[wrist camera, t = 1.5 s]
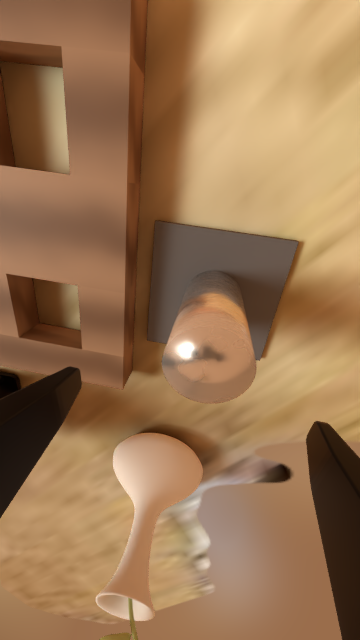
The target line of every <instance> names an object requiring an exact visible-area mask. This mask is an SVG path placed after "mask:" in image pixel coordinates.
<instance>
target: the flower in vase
mask: <svg viewBox="0 0 360 640" xmlns="http://www.w3.org/2000/svg"><path fill="white" fill-rule="evenodd" d="M113 468H114V471H115V473H116V476H117V478H118V480H119V482H120V483H121V485H122V486H123V488H124V489H125V491H126V492H127V493H128V495H129V496H130V498H131V499H132V501H133V503H134V508H135V514H134V521H133V525H132V530H131V533H130V536H129V540H128V543H127V546H126V549H125V551H124V554H123V557H122V559H121V561H120V564H119V566H118V568H117V570H116V572H115V573H114V575H113V577H112V578H111V580H110V581H109V583H108V584H107V585H106V587H105V588H104V589H103V590H102V591H101V592H100V593H99V594H98V595H97V597H96V603H97V604H98V606H99V607H100V608H102V609H103V610H105V611H106V612H108V613H110V614H112V615H115V616H117V617H120V618H124V619H128V620H130V626H131V632H132V634H129V633H119V634H111V635H107V636H104V637H102V638H101V639H99V640H130V637H131V635H132V636H133V640H138V637H137V632H136V628H135V622H134V621H147V620H150V619H152V618H153V617H154V615H155V612H154V608H153V604H152V601H151V596H150V591H149V579H148V576H149V558H150V549H151V543H152V536H153V532H154V528H155V524H156V521H157V518H158V516H159V515H160V513H161V512H162V511H163V510H164V509H166V508H167V507H169V506H171V505H174V504H176V503H178V502H179V501H181V500H183V499H185V498H186V497H188V496H189V495H190V494H192V493H193V492H194V491H195V490H196V489H197V487H198V486H199V484H200V482H201V480H202V477H203V468H202V464H201V462H200V460H199V459H198V457H197V455H196V454H195V452H194V451H193V450H192V449H191V448H190V447H189V446H187V445H186V444H185V443H183V442H181V441H180V440H178V439H175V438H173V437H170V436H167V435H164V434H158V433H140V434H136V435H133V436H130V437H128V438H127V439H125V440H124V441H122V442H121V443H120V444H118V446H117V447H116V449H115V450H114V454H113Z"/></svg>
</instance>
